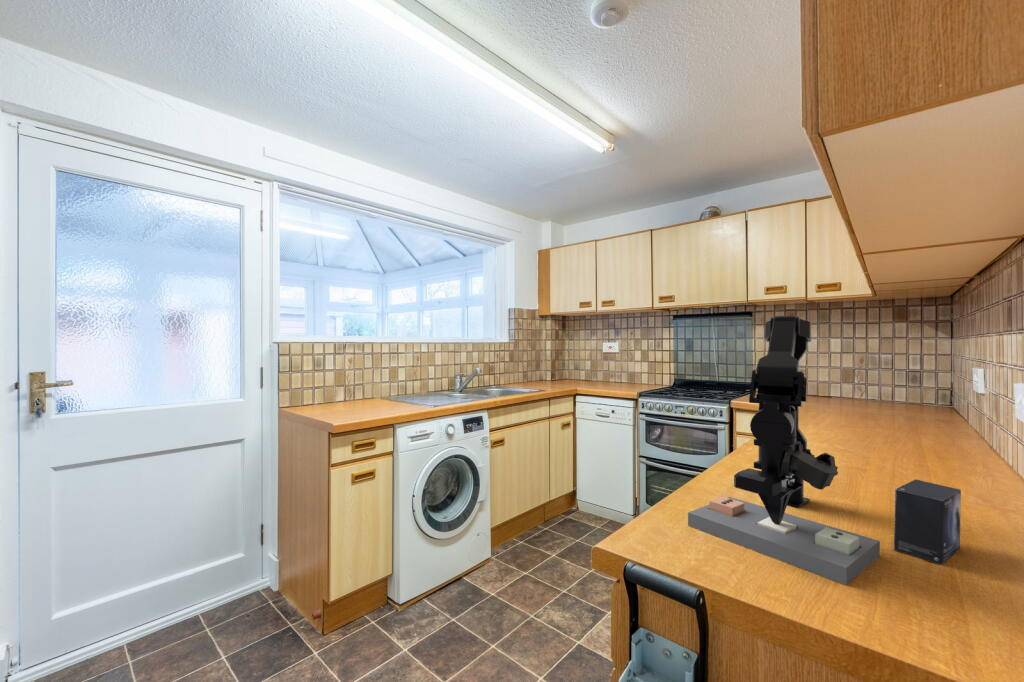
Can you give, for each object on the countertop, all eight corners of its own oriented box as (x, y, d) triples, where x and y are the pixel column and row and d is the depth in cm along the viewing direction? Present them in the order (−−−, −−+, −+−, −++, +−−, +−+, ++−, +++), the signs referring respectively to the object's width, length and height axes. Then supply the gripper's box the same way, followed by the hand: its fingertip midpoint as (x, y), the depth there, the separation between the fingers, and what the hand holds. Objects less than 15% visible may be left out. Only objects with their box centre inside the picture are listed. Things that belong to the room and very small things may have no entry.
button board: (729, 508, 92) (729, 496, 92) (879, 556, 72) (879, 540, 72) (688, 525, 83) (688, 512, 83) (846, 585, 63) (846, 567, 63)
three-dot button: (721, 508, 88) (721, 495, 88) (744, 515, 84) (744, 502, 84) (709, 513, 85) (709, 500, 85) (732, 521, 82) (732, 507, 82)
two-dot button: (826, 542, 73) (826, 526, 73) (859, 552, 70) (859, 536, 70) (815, 549, 71) (815, 533, 71) (848, 560, 67) (848, 543, 67)
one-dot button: (769, 530, 81) (769, 515, 81) (796, 539, 77) (796, 524, 77) (757, 536, 78) (757, 521, 78) (784, 546, 74) (784, 530, 74)
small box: (945, 567, 68) (945, 500, 68) (892, 550, 74) (892, 488, 74) (963, 550, 74) (963, 488, 74) (912, 535, 79) (912, 478, 80)
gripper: (806, 451, 66) (805, 556, 65) (851, 436, 76) (850, 526, 76) (732, 438, 75) (732, 529, 75) (782, 426, 85) (781, 506, 85)
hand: (776, 523), depth 77 cm, fingers closed, pressing on one-dot button
